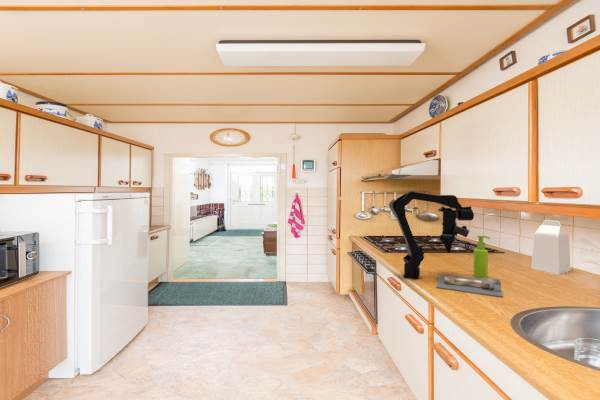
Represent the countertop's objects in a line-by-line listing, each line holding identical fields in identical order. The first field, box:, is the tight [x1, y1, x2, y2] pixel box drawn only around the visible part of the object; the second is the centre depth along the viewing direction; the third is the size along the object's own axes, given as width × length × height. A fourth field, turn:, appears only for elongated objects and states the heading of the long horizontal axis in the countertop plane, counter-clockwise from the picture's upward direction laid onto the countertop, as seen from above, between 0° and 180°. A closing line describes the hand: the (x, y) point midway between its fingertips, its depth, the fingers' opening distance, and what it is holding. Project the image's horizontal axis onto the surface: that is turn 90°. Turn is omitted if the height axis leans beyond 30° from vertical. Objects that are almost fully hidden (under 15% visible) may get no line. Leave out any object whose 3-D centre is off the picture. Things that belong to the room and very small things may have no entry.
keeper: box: [480, 277, 502, 292], centre depth 123 cm, size 7×5×4 cm
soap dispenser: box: [473, 235, 491, 279], centre depth 141 cm, size 6×7×20 cm
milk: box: [530, 219, 571, 275], centre depth 151 cm, size 12×12×26 cm
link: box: [445, 276, 490, 288], centre depth 128 cm, size 17×4×3 cm, turn 64°
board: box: [435, 273, 504, 298], centre depth 130 cm, size 24×22×1 cm
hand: (448, 252), depth 141 cm, fingers closed
